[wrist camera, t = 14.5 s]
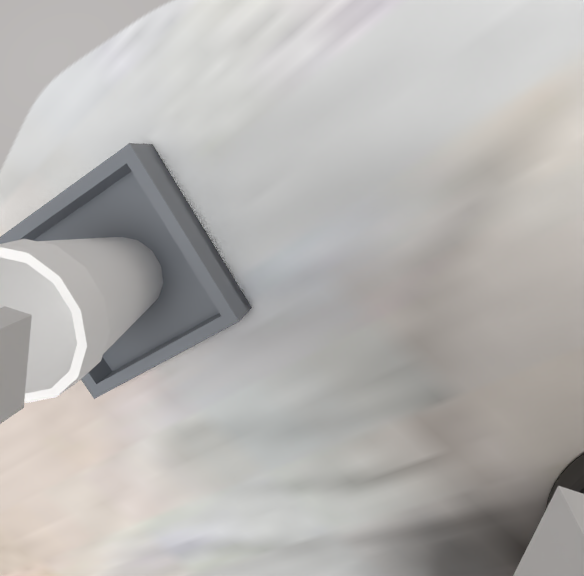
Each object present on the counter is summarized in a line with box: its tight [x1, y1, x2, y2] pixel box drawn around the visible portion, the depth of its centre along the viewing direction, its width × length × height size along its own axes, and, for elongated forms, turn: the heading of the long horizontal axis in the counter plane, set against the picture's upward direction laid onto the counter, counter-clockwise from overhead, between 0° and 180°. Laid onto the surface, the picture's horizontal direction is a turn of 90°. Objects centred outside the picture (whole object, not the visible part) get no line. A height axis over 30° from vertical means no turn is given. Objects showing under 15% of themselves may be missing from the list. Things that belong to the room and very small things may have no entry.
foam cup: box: [0, 237, 163, 403], centre depth 34 cm, size 10×9×13 cm
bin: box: [0, 143, 251, 399], centre depth 39 cm, size 15×15×4 cm
